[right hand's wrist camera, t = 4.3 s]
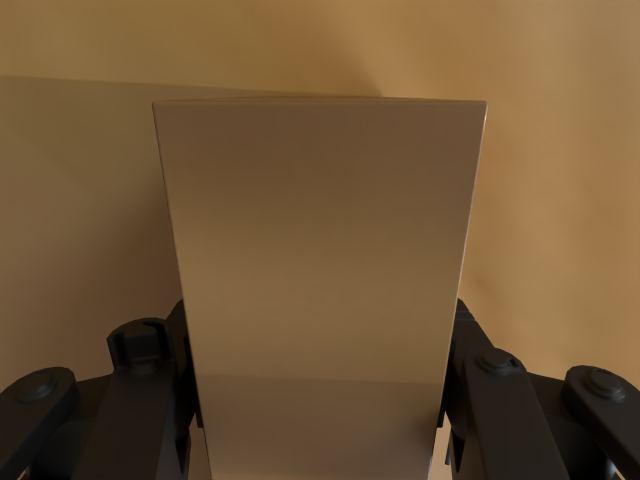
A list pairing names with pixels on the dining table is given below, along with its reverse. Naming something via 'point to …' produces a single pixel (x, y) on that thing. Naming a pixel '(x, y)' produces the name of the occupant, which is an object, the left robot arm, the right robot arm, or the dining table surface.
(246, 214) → the post
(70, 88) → the dining table surface
